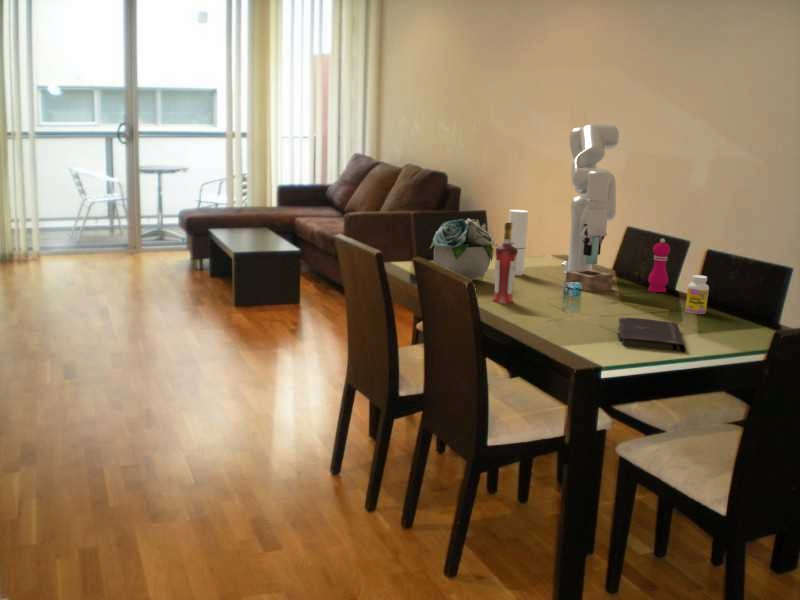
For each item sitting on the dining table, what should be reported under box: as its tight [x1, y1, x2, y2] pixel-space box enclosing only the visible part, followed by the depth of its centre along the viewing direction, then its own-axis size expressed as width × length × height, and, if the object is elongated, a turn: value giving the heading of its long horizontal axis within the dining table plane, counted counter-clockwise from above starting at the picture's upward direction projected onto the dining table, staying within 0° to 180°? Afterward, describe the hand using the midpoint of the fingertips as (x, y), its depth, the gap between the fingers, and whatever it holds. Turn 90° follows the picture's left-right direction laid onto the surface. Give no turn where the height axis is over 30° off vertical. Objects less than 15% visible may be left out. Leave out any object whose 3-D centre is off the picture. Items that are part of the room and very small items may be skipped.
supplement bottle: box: [684, 274, 710, 315], centre depth 305 cm, size 7×7×13 cm
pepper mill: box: [647, 237, 671, 293], centre depth 337 cm, size 7×7×20 cm
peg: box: [585, 236, 599, 265], centre depth 335 cm, size 4×4×10 cm
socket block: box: [565, 269, 614, 293], centre depth 338 cm, size 12×12×6 cm
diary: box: [617, 317, 687, 354], centre depth 266 cm, size 19×25×5 cm
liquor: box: [492, 221, 518, 305], centre depth 304 cm, size 7×7×28 cm
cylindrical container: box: [508, 209, 529, 276], centre depth 357 cm, size 7×7×25 cm
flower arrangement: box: [429, 217, 499, 281], centre depth 336 cm, size 25×25×24 cm
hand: (591, 254), depth 335 cm, fingers closed on peg, 4 cm apart
